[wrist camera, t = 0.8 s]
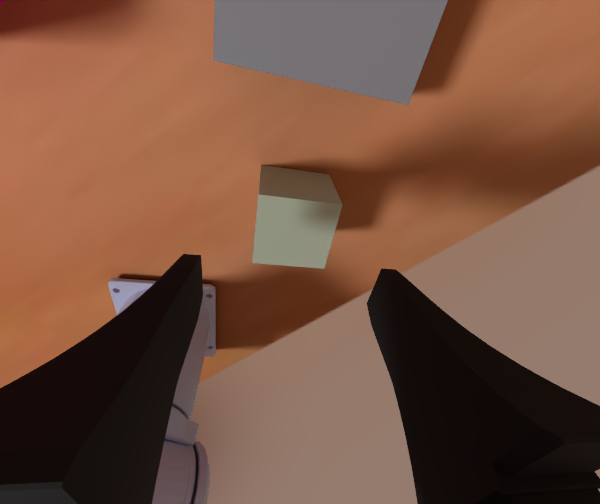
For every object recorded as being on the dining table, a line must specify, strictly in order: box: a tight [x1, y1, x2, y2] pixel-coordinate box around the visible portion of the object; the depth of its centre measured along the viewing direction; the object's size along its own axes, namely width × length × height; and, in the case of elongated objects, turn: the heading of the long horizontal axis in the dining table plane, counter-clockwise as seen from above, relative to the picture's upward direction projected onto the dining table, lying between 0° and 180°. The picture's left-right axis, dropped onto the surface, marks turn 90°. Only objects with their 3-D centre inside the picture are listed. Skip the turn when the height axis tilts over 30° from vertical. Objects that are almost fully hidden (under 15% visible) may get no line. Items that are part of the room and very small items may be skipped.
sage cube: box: [252, 165, 343, 269], centre depth 18 cm, size 4×4×4 cm
